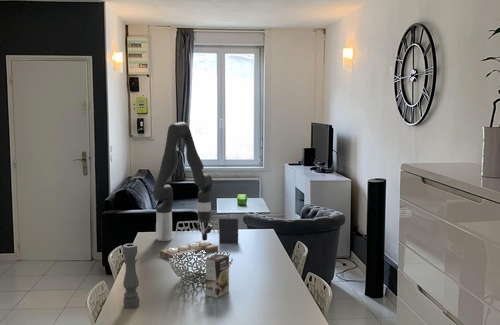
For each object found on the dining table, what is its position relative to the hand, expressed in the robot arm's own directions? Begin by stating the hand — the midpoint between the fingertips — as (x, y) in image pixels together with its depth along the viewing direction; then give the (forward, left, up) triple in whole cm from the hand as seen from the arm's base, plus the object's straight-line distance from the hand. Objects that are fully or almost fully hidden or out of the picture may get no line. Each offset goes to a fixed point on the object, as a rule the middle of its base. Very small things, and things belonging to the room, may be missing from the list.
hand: (204, 240), depth 275 cm
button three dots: (0, -7, -4) cm, 8 cm away
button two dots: (0, -21, -4) cm, 21 cm away
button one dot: (0, 0, -4) cm, 4 cm away
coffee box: (+56, -35, -6) cm, 66 cm away
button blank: (0, -14, -4) cm, 14 cm away
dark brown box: (-1, +19, -6) cm, 20 cm away
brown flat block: (0, -10, -6) cm, 12 cm away
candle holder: (+43, -69, -6) cm, 82 cm away
